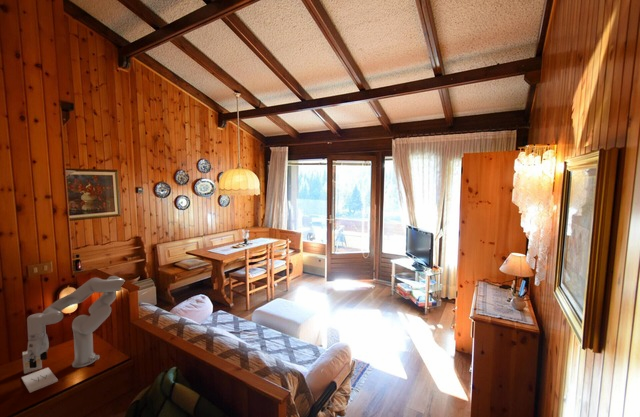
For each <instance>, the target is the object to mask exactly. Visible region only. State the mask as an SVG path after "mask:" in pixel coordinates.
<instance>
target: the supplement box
mask: <svg viewBox="0 0 640 417" xmlns="http://www.w3.org/2000/svg"><path fill="white" fill-rule="evenodd" d="M27 355H28V352H27V350H26V351H22V366H23V374H30V373H31V372H32V373H33V372H36V371H39V370H42V369H43V363H42V362H43V360H41V359H40V355H39V356H37V357H36V360H35V361H36V363H37V367H36V368H30V365H29V362H28V361H27V360H26V357H27ZM32 356H34V355H32ZM32 359H34V357H32Z"/></svg>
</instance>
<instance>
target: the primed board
mask: <svg viewBox="0 0 640 417" xmlns="http://www.w3.org/2000/svg"><path fill="white" fill-rule="evenodd" d="M20 377H21V380H22V382H23V384H24V385H25V386H24V387H25V388H26V389H27V391H28V392H29V393H33V392H35V391H37V390H41V389H43V388H46V387H48V386H50V385H52V384H55V383H57V382H59V379H58V378H57V377H56V375H55V374H54V373H53V372H52V370H51V369H50V367H45V368H42V369H39V370H36V371H33V372H32V373H28V374H27V375H24V376H20Z"/></svg>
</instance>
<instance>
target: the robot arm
mask: <svg viewBox="0 0 640 417" xmlns="http://www.w3.org/2000/svg"><path fill="white" fill-rule="evenodd" d="M125 281H126V280H125V279H124V278H122V277H119V276H117V275H111V276H108V278H106V279H102V278H100V277H91V278H90V279H88V280H87V281H86V282H85V283H82V285H81V286H79V287H78V288H76V289H75V290H73V291H72V292H71V293H69V294H67V295H65V296H63V297H61V298H59V299H57V300H55V301H54V302H53V303H52V304H50V305H49V306H48V307H45V309H44V310H43V311H42V312H36V313H34V314H31V315H29V316H28V317H27V319H26V322H27V323H26V324H27V340H28V341H27V350H26V351H27V352H28V355H27V357H26V360H27V361H28V362H29V365H30V368H36V367H37V363H36V361H35V360H36V357H37V356H39V355H40V359H41V360H42V361H46V360H47V359H48V350H49V347H50V346H49V345H50V343H49V338H48V334H47V330H46V326H47V325H52V324H53V325H54V324H57V323H59V322H60V321H62V320H63V318H64V313H63V312H62V311H64V310H65V309H66V308H68V307H70V306H72V305H76V304H80V303H83V302H84V301H85V300H87V299H88V298H89V297H91V296H92V295H93V294H94V293H98V294H101V293H102V295H100V296H99V297H98V298H97V299H96V300H95V301H94V302H93V303H92V304H91V305H90V306H89V308H88V313H89V314H90V315H86V314H80V315H78V316H76V317H74V319H73V320H72V323H71V328H72V332H73V348H74V350H73V351H74V360H73V362H71V366H72V368H75V369H77V368H78V369H79V368H84V367H87V366H89V365H91V364H93V363H94V362H95V361H97V360H100V354H96V352H94V338H93V336H94V335H93V334H94V333H93V332H95V331H96V330H97V329H98V328H99V327H100V326H101V325H102V324H103V323H104V322H105V321H106V320H107V319H108V317H110V315H111V312H112V307H111V305H112V304H113V303H114V301H115V300H116V299H117V298H116V291H119V292H120V291H122V290H121V286H122V285H123V284H124V282H125ZM32 355H34V356H32ZM32 357H34V359H32Z"/></svg>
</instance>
